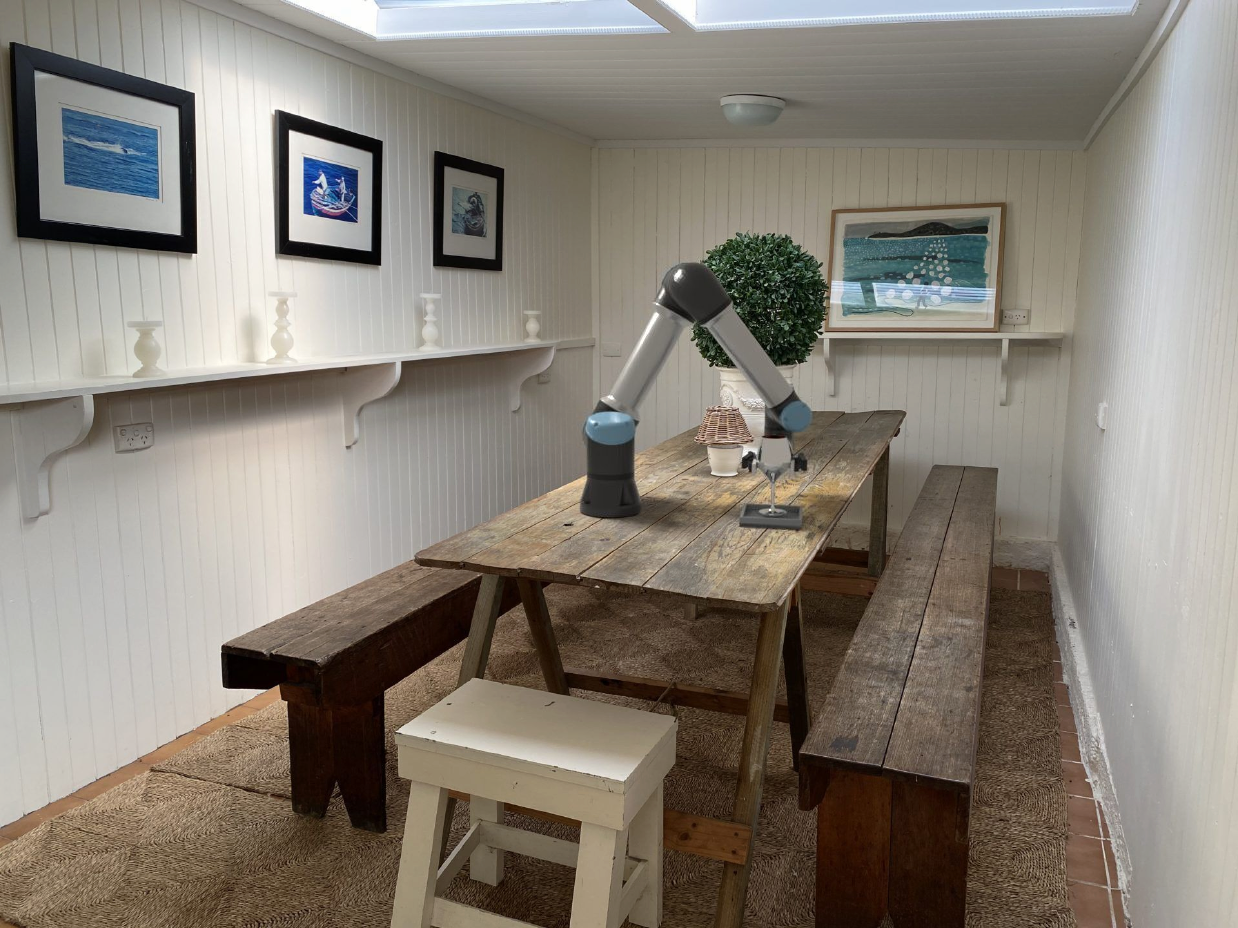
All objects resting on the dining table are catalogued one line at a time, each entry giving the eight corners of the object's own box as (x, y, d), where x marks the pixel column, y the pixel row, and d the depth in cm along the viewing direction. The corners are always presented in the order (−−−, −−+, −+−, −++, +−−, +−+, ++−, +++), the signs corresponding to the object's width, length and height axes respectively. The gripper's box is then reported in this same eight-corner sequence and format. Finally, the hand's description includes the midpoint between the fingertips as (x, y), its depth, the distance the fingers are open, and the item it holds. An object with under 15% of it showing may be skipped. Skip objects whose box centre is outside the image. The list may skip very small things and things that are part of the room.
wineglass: (789, 517, 218) (791, 440, 215) (753, 516, 220) (755, 439, 216) (790, 509, 226) (792, 434, 223) (755, 507, 228) (757, 433, 224)
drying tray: (739, 526, 218) (739, 517, 217) (743, 512, 231) (744, 503, 231) (801, 529, 215) (801, 520, 215) (802, 514, 229) (802, 505, 228)
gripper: (818, 469, 237) (818, 488, 215) (734, 466, 241) (726, 485, 219) (819, 439, 235) (820, 455, 213) (735, 436, 239) (727, 452, 217)
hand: (772, 470), depth 216 cm, fingers closed on wineglass, 8 cm apart
